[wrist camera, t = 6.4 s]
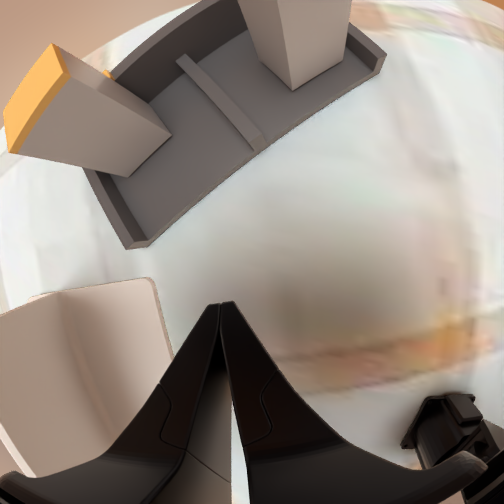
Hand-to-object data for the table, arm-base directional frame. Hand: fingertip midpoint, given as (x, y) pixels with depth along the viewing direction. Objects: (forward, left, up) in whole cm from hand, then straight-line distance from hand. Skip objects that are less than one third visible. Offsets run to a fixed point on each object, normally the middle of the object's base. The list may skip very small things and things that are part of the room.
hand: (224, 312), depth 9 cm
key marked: (+8, +12, -10) cm, 18 cm away
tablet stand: (-17, +14, -12) cm, 25 cm away
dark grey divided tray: (+12, +6, -11) cm, 18 cm away
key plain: (+16, 0, -10) cm, 19 cm away
